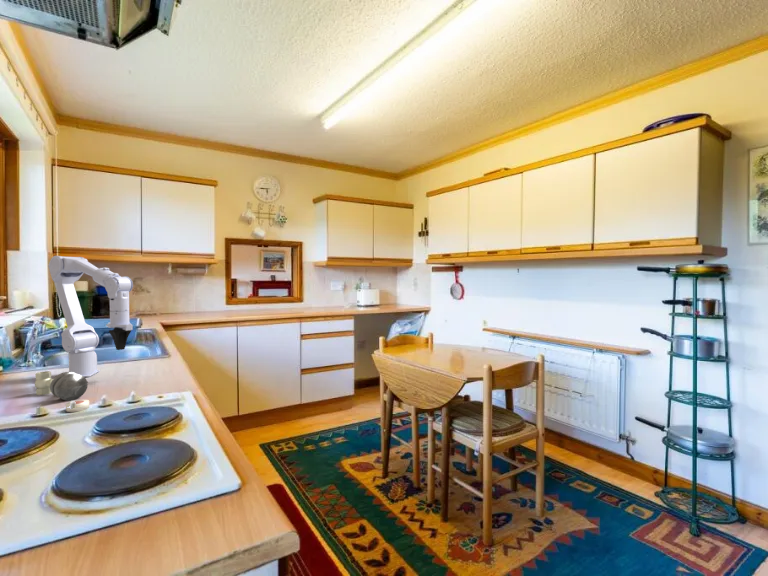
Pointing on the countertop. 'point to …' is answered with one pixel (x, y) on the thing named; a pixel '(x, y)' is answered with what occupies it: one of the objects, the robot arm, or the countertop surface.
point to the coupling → (68, 386)
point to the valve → (43, 383)
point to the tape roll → (79, 402)
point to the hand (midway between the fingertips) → (120, 349)
